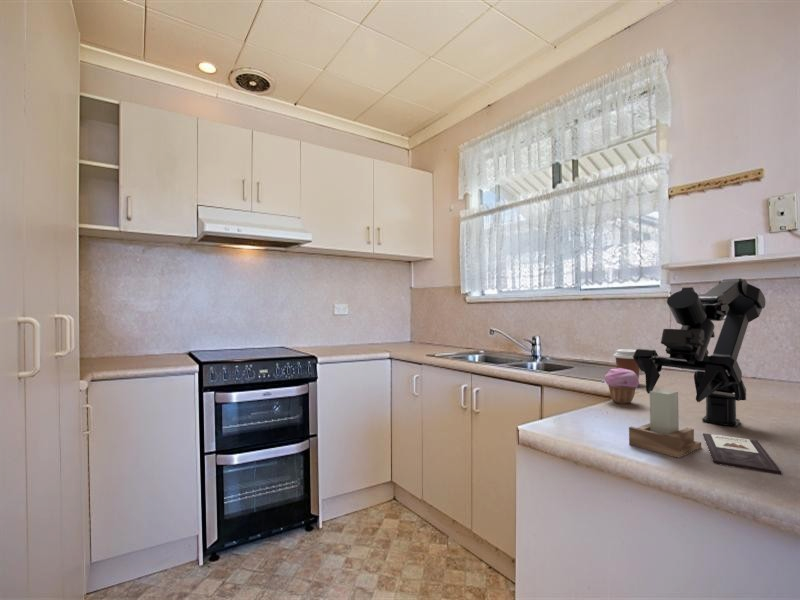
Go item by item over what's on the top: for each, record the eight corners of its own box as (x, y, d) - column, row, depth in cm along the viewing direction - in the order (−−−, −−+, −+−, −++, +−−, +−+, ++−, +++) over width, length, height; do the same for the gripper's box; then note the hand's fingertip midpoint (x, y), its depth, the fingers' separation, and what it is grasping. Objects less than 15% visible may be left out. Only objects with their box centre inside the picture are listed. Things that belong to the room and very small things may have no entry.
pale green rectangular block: (660, 436, 84) (659, 389, 84) (678, 441, 81) (678, 392, 81) (650, 440, 82) (649, 391, 82) (669, 445, 79) (668, 394, 79)
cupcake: (601, 398, 123) (600, 365, 123) (631, 399, 121) (631, 366, 121) (612, 405, 114) (611, 370, 114) (644, 406, 113) (644, 370, 113)
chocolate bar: (713, 460, 72) (703, 433, 87) (713, 465, 72) (703, 437, 87) (781, 471, 67) (757, 440, 83) (781, 477, 67) (757, 445, 83)
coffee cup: (642, 386, 139) (642, 352, 139) (612, 384, 144) (612, 350, 144) (642, 382, 147) (642, 349, 147) (614, 380, 151) (614, 348, 152)
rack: (652, 435, 88) (652, 419, 88) (701, 447, 80) (701, 430, 80) (629, 444, 82) (629, 427, 82) (678, 458, 75) (678, 439, 75)
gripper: (635, 314, 94) (611, 366, 88) (735, 316, 78) (713, 379, 72) (652, 345, 98) (630, 396, 92) (750, 352, 83) (731, 415, 76)
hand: (671, 396), depth 83 cm, fingers open, 9 cm apart
